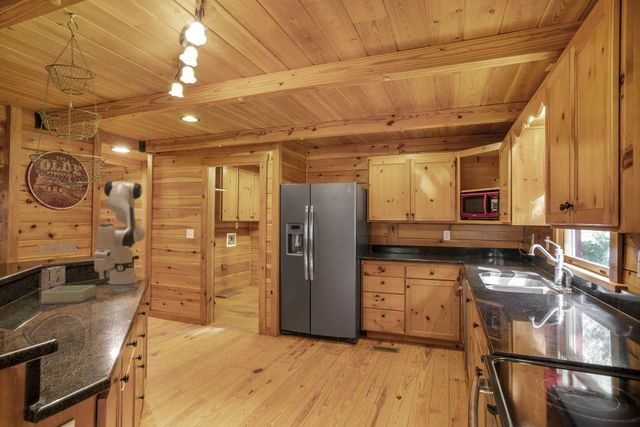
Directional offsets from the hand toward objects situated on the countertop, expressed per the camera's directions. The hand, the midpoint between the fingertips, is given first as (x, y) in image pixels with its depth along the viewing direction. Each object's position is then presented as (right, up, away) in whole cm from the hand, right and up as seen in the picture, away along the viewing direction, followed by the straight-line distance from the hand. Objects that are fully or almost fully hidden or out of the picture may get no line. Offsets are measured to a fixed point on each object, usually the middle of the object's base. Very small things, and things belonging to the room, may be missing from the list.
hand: (104, 277), depth 183 cm
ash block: (0, -11, 0) cm, 11 cm away
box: (-16, -11, -5) cm, 20 cm away
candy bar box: (-30, -11, +1) cm, 32 cm away
